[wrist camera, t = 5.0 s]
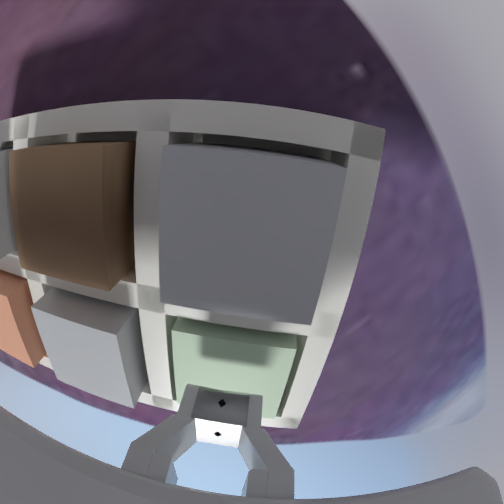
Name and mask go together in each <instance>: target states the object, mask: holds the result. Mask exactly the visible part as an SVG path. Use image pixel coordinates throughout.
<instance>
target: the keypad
mask: <svg viewBox="0 0 504 504" xmlns="http://www.w3.org/2000/svg"><path fill="white" fill-rule="evenodd" d="M385 132H386V129H383V128H380V127H376V126H372V125H368V124H365V123H361V122H357V121H352V120H348V119H344V118H339V117H335V116H330V115H325V114H320V113H314V112H309V111H303V110H297V109H291V108H284V107H277V106H269V105H261V104H252V103H242V102H230V101H214V100H189V99H154V100H129V101H114V102H103V103H93V104H85V105H77V106H70V107H63V108H57V109H51V110H46V111H41V112H36V113H31V114H26V115H22V116H17V117H13V118H9V119H5V120H2V121H0V269H1V270H4V271H6V272H9V273H12V274H15V275H18V276H21V277H24V278H27V280H28V284H29V288H30V292H31V296H32V300H33V303H34V304H33V305H32V306H31V309H32V313H33V316H34V319H35V322H36V325H37V328H38V331H39V334H40V337H41V340H42V342H43V345H44V348H45V350H46V355H45V356H44V357H43V358H42V359H41V360H40V362H39V363H40V364H42V365H44V366H46V367H48V368H50V369H53V370H54V372H55V374H56V377H57V379H58V380H60V381H62V382H65V383H67V384H69V385H71V386H74V387H76V388H79V389H81V390H83V391H86V392H88V393H91V394H94V395H96V396H99V397H102V398H104V399H107V400H110V401H113V402H116V403H119V404H122V405H125V406H128V407H131V408H135V406H136V404H137V402H142V403H145V404H149V405H153V406H156V407H160V408H164V409H168V410H172V411H176V412H178V409H179V406H180V404H178V403H177V398H176V388H175V376H174V364H173V349H172V331H171V330H172V328H173V326H174V324H175V322H176V320H177V318H178V317H182V318H188V319H193V320H199V321H204V322H210V323H216V324H222V325H229V326H235V327H242V328H249V329H256V330H263V331H271V332H279V333H287V334H296V347H297V350H296V353H295V357H294V360H293V364H292V367H291V370H290V373H289V377H288V380H287V383H286V386H285V389H284V393H283V396H282V399H281V402H280V405H279V408H278V411H277V414H276V417H275V419H271V418H262V420H261V426H268V427H280V428H295V429H297V427H298V425H299V423H300V420H301V418H302V416H303V414H304V412H305V409H306V407H307V405H308V403H309V400H310V398H311V396H312V393H313V391H314V389H315V386H316V384H317V381H318V379H319V376H320V374H321V371H322V369H323V366H324V364H325V361H326V358H327V356H328V353H329V350H330V348H331V345H332V342H333V339H334V337H335V334H336V331H337V328H338V325H339V322H340V319H341V316H342V313H343V310H344V307H345V304H346V301H347V298H348V295H349V291H350V288H351V285H352V282H353V278H354V275H355V271H356V268H357V264H358V261H359V257H360V253H361V249H362V246H363V242H364V238H365V234H366V230H367V226H368V221H369V217H370V213H371V208H372V204H373V199H374V194H375V190H376V185H377V180H378V174H379V169H380V163H381V158H382V152H383V145H384V139H385ZM86 141H136V151H135V170H134V249H135V265H134V267H133V268H132V269H131V270H130V271H129V272H128V273H127V274H126V275H125V276H124V277H123V278H122V279H121V280H120V281H119V282H118V283H117V284H116V285H115V286H114V287H113V288H112V289H111V290H110V291H105V290H101V289H96V288H92V287H88V286H84V285H80V284H76V283H72V282H69V281H65V280H61V279H57V278H54V277H50V276H46V275H43V274H39V273H36V272H33V271H29V270H26V269H22V268H21V266H20V262H19V256H18V251H17V246H16V240H15V233H14V226H13V218H12V209H11V198H10V183H9V151H12V150H17V149H22V148H28V147H34V146H40V145H46V144H53V143H67V142H86Z"/></svg>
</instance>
